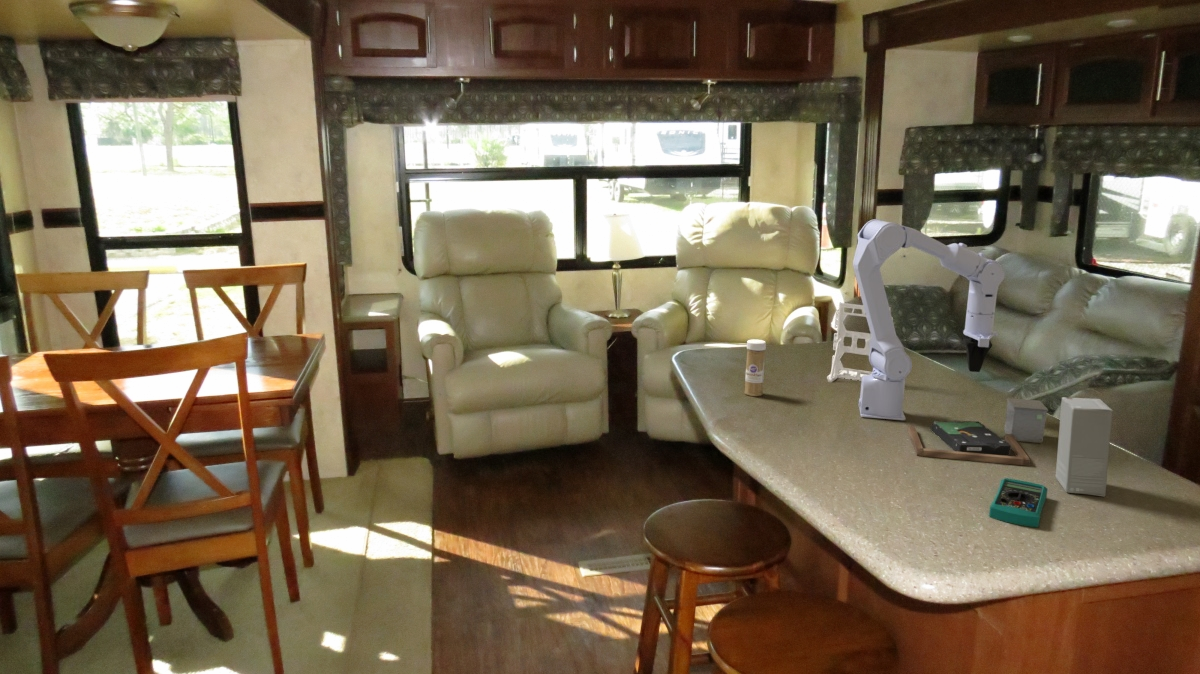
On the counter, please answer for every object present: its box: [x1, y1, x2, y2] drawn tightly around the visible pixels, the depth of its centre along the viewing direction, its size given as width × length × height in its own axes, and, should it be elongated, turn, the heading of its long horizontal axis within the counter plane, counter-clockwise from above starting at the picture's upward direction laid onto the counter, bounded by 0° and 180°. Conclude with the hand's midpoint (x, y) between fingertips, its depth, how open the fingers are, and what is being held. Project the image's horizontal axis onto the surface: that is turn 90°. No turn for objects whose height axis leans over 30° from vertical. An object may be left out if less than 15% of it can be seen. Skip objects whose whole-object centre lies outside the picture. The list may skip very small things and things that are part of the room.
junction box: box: [1004, 397, 1049, 444], centre depth 172 cm, size 6×6×7 cm
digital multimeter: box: [988, 477, 1048, 528], centre depth 139 cm, size 7×15×3 cm, turn 147°
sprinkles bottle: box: [743, 338, 767, 397], centre depth 200 cm, size 5×5×14 cm
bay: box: [907, 425, 1031, 467], centre depth 166 cm, size 20×15×1 cm
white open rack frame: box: [826, 302, 894, 383], centre depth 213 cm, size 14×14×20 cm
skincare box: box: [1054, 396, 1114, 497], centre depth 146 cm, size 8×7×16 cm
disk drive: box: [930, 420, 1012, 456], centre depth 170 cm, size 10×3×15 cm
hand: (974, 371), depth 186 cm, fingers closed
